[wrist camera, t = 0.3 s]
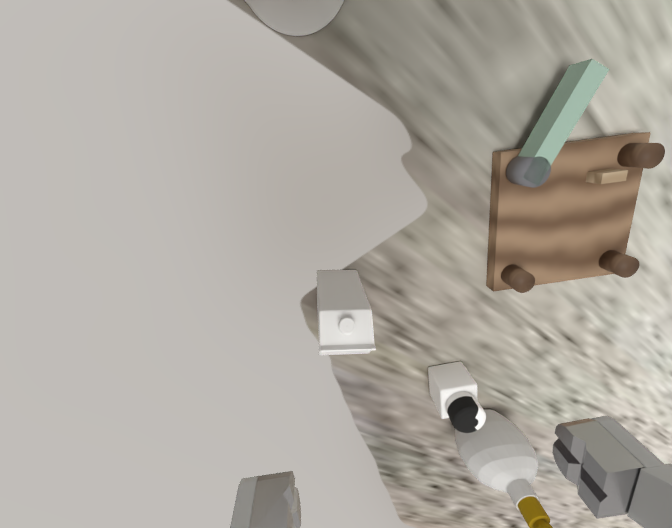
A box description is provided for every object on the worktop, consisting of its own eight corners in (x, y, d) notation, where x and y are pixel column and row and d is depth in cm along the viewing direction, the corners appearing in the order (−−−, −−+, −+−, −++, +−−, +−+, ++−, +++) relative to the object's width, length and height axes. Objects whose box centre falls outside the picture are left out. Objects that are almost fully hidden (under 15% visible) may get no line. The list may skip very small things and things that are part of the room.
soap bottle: (443, 437, 75) (508, 581, 50) (444, 407, 71) (514, 545, 47) (504, 429, 75) (598, 567, 51) (508, 399, 72) (610, 531, 48)
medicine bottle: (429, 393, 70) (452, 441, 58) (427, 366, 67) (450, 411, 56) (461, 387, 70) (491, 434, 59) (461, 360, 67) (491, 403, 56)
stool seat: (492, 151, 53) (516, 153, 47) (635, 132, 54) (677, 131, 48) (486, 285, 61) (505, 301, 55) (609, 267, 62) (642, 281, 56)
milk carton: (355, 304, 61) (374, 372, 43) (317, 305, 60) (320, 374, 43) (356, 269, 58) (377, 325, 41) (316, 269, 58) (320, 326, 40)
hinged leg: (523, 188, 53) (539, 192, 49) (500, 177, 52) (515, 180, 48) (589, 77, 47) (613, 71, 44) (565, 63, 47) (588, 56, 43)
